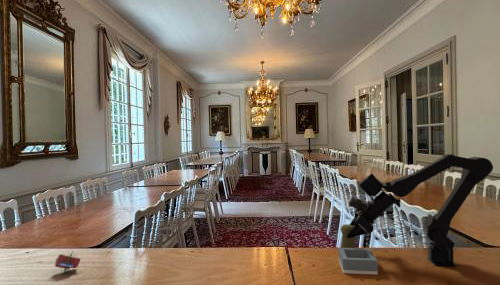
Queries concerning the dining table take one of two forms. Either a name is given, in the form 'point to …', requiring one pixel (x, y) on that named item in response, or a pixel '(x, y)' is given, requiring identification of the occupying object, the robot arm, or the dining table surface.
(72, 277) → the dining table surface
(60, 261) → the geometric puzzle
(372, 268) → the box
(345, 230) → the cork
